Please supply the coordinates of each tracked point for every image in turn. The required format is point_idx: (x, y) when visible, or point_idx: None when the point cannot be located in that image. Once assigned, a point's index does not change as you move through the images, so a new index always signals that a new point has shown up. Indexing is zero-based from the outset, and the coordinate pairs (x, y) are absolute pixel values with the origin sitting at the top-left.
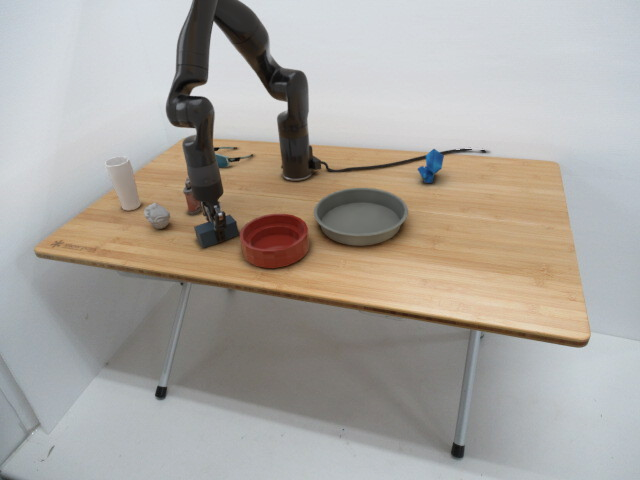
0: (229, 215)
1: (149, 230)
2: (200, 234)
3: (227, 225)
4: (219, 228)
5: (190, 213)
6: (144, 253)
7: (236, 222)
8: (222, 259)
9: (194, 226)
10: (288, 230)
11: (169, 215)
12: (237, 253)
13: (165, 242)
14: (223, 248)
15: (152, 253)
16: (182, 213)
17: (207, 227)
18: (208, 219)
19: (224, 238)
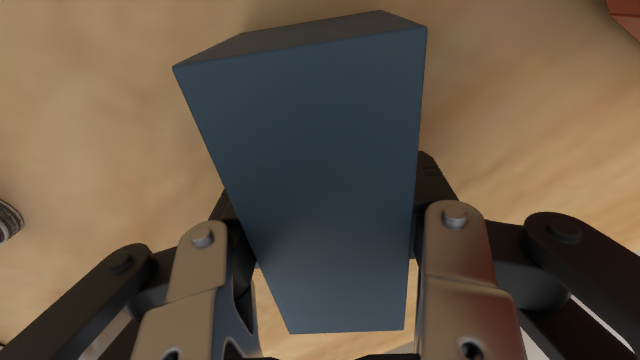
0: (206, 80)
1: None
2: (402, 323)
3: (414, 155)
4: (566, 301)
5: (14, 233)
6: (297, 354)
7: (420, 24)
8: (560, 191)
9: (289, 332)
10: None
11: (100, 354)
12: (602, 99)
13: (257, 318)
14: (463, 162)
15: (308, 344)
16: (11, 251)
17: (350, 292)
18: (250, 285)
19: (432, 160)
